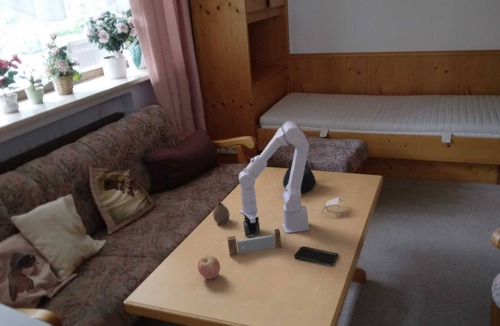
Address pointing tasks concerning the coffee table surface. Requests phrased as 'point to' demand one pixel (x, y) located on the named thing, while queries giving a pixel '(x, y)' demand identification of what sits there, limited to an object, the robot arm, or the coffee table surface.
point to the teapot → (307, 180)
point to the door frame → (233, 245)
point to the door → (255, 244)
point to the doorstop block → (247, 232)
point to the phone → (316, 256)
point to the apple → (209, 267)
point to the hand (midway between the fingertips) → (251, 229)
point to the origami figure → (333, 204)
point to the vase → (221, 214)
